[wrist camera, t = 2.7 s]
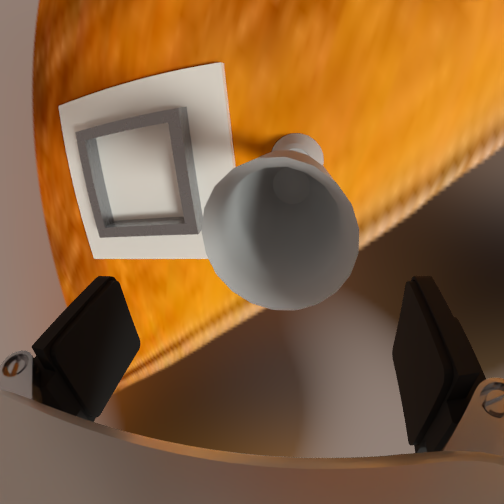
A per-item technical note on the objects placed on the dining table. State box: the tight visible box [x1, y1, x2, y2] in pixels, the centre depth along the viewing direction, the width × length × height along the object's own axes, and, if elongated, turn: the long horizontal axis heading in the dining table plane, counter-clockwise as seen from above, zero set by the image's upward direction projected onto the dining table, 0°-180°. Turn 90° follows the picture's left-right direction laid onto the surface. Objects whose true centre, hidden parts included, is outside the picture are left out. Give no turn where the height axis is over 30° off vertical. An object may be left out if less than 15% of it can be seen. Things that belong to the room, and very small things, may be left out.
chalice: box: [202, 133, 359, 310], centre depth 21 cm, size 7×7×18 cm
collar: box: [75, 107, 203, 238], centre depth 31 cm, size 12×12×2 cm
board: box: [59, 62, 236, 259], centre depth 32 cm, size 20×20×1 cm
